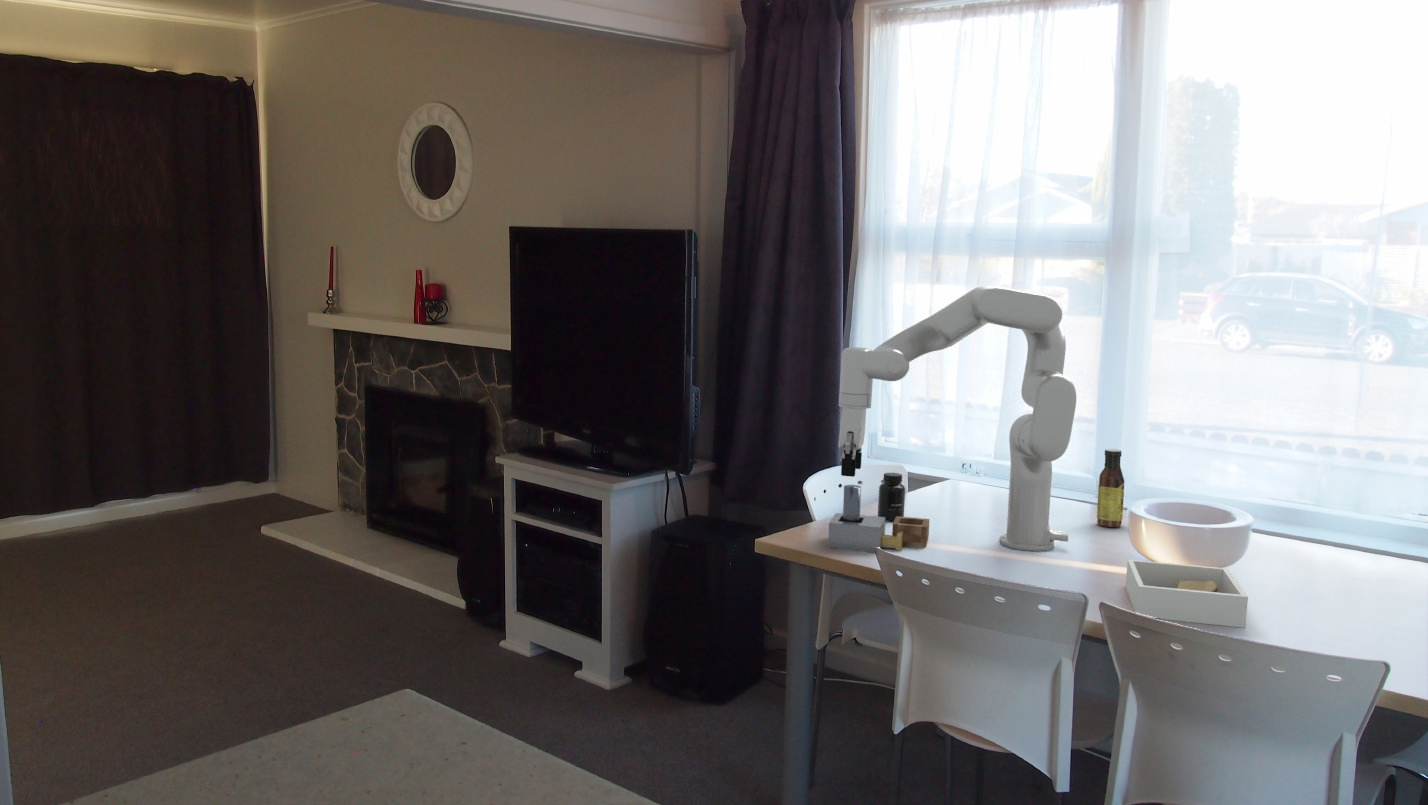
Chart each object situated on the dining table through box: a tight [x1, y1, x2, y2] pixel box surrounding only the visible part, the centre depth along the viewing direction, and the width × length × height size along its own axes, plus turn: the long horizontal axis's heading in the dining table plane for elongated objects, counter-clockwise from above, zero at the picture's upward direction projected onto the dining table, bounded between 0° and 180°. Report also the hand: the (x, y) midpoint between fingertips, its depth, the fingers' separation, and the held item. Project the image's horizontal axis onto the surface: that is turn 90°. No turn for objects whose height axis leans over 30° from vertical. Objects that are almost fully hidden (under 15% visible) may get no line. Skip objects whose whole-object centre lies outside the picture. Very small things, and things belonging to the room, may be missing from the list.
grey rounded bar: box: [842, 484, 862, 523], centre depth 242 cm, size 4×4×14 cm
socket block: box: [827, 512, 886, 553], centre depth 242 cm, size 12×10×6 cm
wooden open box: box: [891, 516, 930, 549], centre depth 246 cm, size 8×8×5 cm
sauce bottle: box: [1096, 448, 1125, 528], centre depth 264 cm, size 7×6×20 cm
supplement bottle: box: [877, 472, 906, 522], centre depth 267 cm, size 7×7×12 cm
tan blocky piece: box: [881, 531, 904, 551], centre depth 241 cm, size 9×4×4 cm, turn 74°
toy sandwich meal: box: [1156, 581, 1217, 592], centre depth 204 cm, size 12×14×5 cm
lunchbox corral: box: [1125, 559, 1249, 629], centre depth 202 cm, size 19×19×6 cm
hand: (851, 472), depth 241 cm, fingers open, 9 cm apart
